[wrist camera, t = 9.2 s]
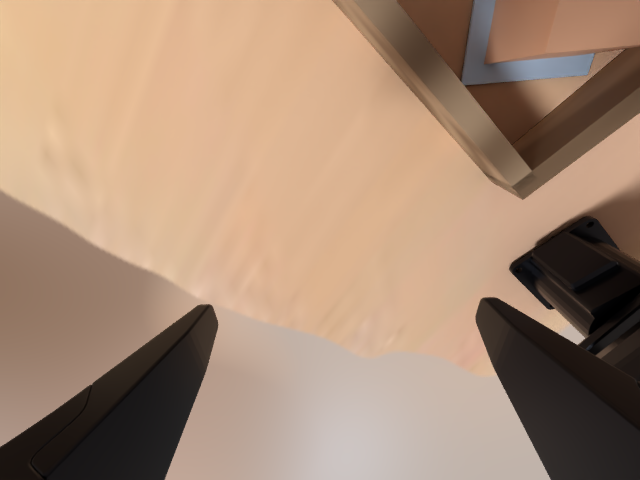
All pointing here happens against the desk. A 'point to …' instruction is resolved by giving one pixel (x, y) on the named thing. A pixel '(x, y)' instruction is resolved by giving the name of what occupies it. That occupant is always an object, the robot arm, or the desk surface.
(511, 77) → the pad
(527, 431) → the robot arm
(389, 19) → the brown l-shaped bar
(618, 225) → the desk surface
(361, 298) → the desk surface
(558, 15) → the cube
